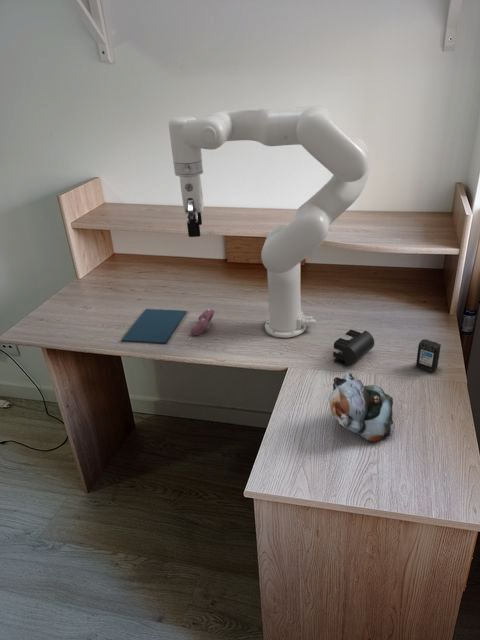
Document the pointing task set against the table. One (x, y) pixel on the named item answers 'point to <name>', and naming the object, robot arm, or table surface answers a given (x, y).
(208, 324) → the video game controller
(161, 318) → the rubber mat
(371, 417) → the lucky cat figurine
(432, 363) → the ink cartridge
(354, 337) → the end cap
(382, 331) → the table surface
